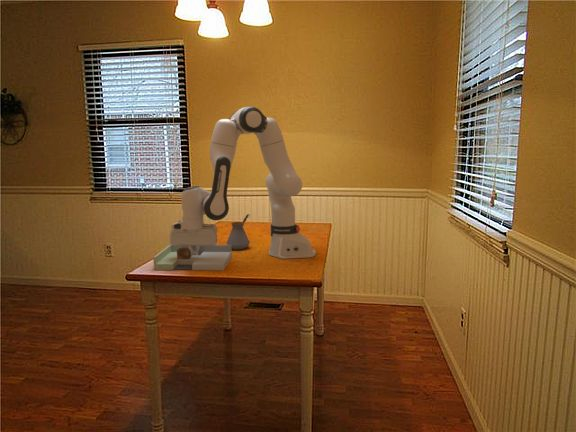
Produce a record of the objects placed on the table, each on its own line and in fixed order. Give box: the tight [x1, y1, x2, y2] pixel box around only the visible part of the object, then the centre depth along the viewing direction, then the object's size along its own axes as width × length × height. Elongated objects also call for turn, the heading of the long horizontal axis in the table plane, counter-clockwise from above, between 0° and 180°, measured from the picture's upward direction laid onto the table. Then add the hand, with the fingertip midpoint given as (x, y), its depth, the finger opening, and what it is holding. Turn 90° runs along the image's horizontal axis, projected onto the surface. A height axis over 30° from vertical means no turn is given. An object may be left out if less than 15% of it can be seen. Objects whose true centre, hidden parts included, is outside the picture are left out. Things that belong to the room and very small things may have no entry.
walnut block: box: [177, 247, 192, 259], centre depth 175 cm, size 5×5×4 cm
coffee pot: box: [226, 213, 250, 251], centre depth 204 cm, size 21×12×15 cm, turn 164°
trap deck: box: [152, 244, 233, 271], centre depth 175 cm, size 29×21×6 cm
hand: (194, 254), depth 175 cm, fingers closed
